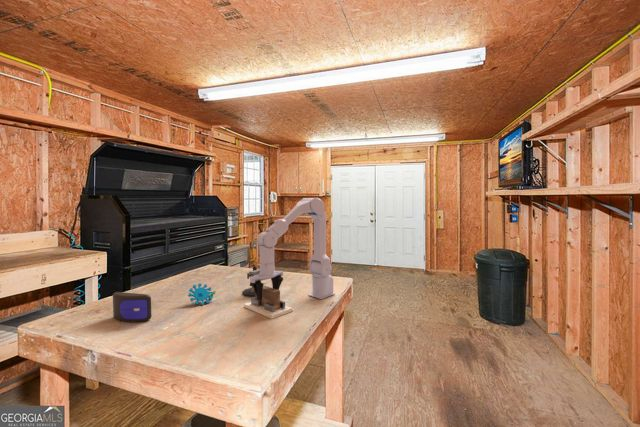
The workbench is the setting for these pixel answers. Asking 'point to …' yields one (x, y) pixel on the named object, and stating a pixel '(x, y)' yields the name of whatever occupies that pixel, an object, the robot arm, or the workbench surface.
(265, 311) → the cabinet panel
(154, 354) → the workbench surface
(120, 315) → the purple-faced speaker box
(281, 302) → the hinge clips
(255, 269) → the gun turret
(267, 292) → the brown wooden block
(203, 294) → the gear
